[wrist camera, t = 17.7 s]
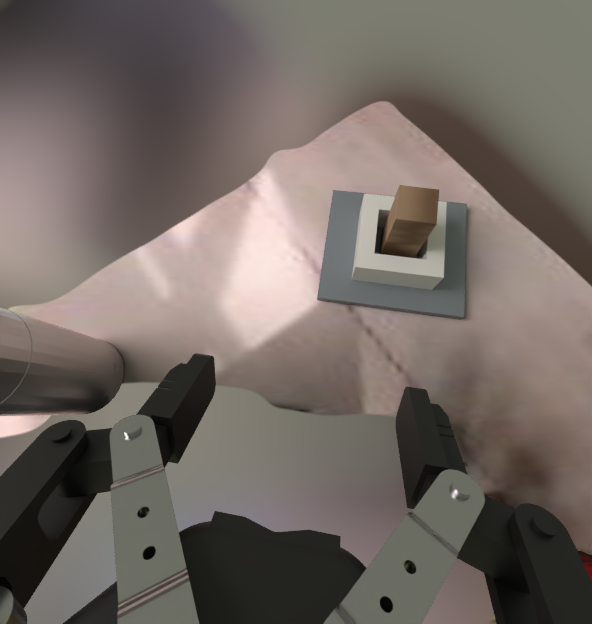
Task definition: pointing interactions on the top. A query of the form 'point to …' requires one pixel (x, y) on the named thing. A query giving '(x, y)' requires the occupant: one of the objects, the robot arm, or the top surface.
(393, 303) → the socket plate
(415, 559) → the robot arm
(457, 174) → the top surface
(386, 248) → the brown wooden block
